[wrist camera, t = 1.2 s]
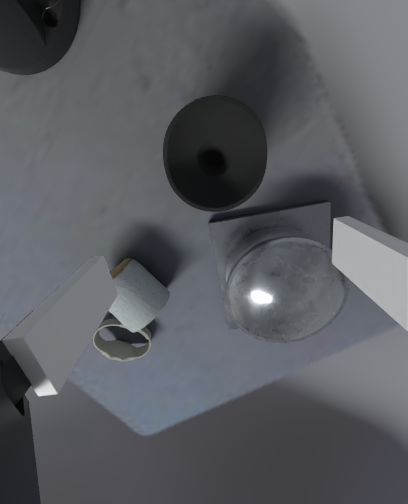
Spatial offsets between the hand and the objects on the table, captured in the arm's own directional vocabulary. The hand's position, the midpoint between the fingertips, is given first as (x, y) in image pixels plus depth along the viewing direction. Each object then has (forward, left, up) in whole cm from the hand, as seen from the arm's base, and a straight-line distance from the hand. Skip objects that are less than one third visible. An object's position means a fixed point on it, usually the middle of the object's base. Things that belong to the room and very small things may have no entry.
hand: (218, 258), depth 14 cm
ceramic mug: (+11, -14, -20) cm, 27 cm away
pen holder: (-5, +1, -20) cm, 21 cm away
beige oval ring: (+19, -18, -20) cm, 33 cm away
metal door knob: (+12, +7, -20) cm, 24 cm away
